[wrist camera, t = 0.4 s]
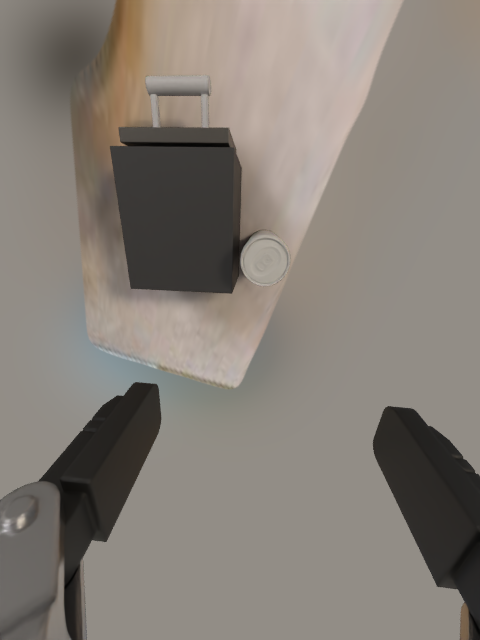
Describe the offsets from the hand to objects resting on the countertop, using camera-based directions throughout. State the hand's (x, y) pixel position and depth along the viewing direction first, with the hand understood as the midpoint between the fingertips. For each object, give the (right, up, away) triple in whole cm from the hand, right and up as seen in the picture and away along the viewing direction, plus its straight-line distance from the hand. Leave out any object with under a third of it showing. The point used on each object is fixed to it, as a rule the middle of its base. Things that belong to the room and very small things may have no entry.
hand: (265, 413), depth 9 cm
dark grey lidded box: (-7, +16, +24) cm, 30 cm away
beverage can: (+2, +13, +25) cm, 29 cm away
